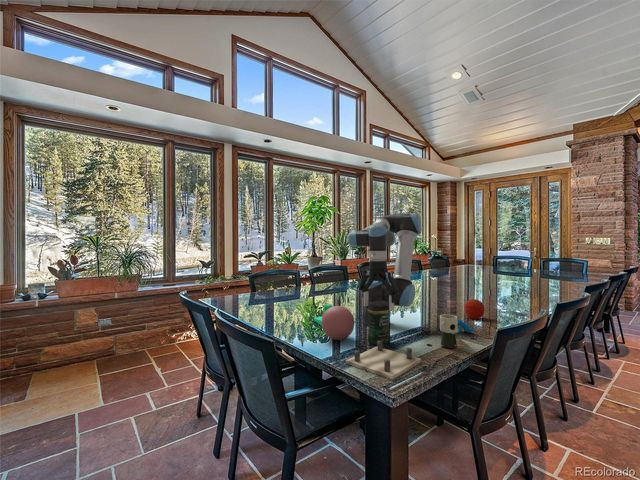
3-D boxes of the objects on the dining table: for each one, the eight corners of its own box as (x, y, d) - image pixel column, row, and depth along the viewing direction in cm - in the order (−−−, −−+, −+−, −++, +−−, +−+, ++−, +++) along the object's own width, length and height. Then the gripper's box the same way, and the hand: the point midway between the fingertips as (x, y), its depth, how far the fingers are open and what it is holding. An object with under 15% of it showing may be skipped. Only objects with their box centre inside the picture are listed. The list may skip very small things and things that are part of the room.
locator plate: (345, 363, 118) (345, 350, 118) (376, 349, 132) (376, 338, 132) (392, 379, 104) (392, 365, 104) (421, 362, 118) (420, 349, 118)
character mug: (449, 352, 127) (449, 320, 127) (434, 347, 133) (433, 316, 133) (463, 346, 134) (463, 315, 134) (448, 341, 140) (448, 312, 140)
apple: (488, 320, 173) (488, 299, 173) (469, 320, 173) (469, 300, 173) (479, 316, 183) (478, 296, 183) (461, 316, 183) (461, 296, 183)
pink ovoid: (338, 329, 161) (338, 299, 160) (361, 341, 143) (360, 307, 143) (311, 334, 154) (311, 303, 153) (331, 347, 136) (331, 311, 136)
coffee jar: (375, 347, 135) (374, 303, 135) (365, 341, 142) (364, 300, 142) (393, 343, 139) (393, 301, 139) (382, 338, 146) (382, 298, 146)
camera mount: (313, 322, 176) (313, 304, 176) (324, 320, 180) (324, 302, 180) (326, 327, 166) (325, 308, 166) (337, 324, 171) (337, 306, 171)
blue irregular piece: (478, 332, 148) (463, 317, 147) (471, 342, 146) (455, 327, 146) (464, 328, 158) (449, 315, 158) (457, 338, 157) (442, 324, 157)
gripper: (350, 259, 146) (351, 305, 146) (398, 261, 129) (398, 313, 129) (360, 259, 152) (361, 303, 152) (407, 260, 134) (408, 310, 134)
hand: (378, 308), depth 140 cm, fingers open, 13 cm apart
